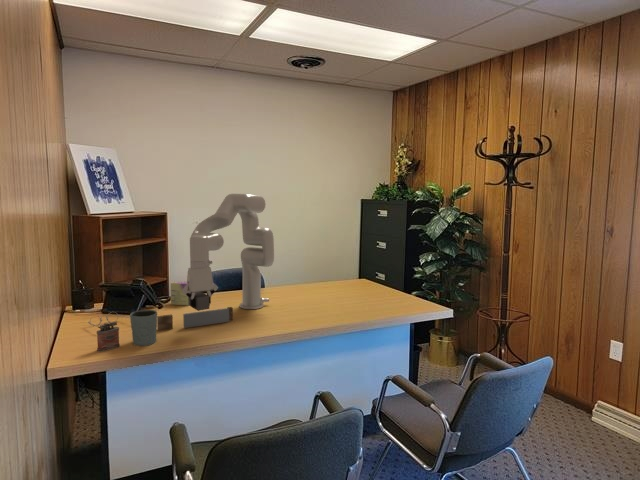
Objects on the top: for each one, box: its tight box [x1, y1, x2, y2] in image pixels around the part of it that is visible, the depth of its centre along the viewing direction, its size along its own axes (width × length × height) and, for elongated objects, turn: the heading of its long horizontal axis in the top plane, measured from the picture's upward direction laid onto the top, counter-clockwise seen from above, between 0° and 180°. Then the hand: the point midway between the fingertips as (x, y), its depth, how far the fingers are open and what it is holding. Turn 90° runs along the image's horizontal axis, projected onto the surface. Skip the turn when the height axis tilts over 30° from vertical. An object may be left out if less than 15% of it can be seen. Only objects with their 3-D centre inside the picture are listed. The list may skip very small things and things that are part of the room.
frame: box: [157, 306, 234, 332], centre depth 194 cm, size 34×2×6 cm, turn 121°
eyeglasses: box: [87, 311, 130, 329], centre depth 187 cm, size 16×19×5 cm
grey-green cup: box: [129, 309, 158, 347], centre depth 170 cm, size 10×10×12 cm
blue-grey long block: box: [182, 308, 230, 329], centre depth 194 cm, size 20×3×6 cm, turn 121°
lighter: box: [96, 321, 121, 352], centre depth 163 cm, size 8×3×10 cm, turn 138°
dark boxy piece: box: [188, 291, 210, 312], centre depth 182 cm, size 5×10×6 cm, turn 39°
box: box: [170, 280, 190, 307], centre depth 227 cm, size 10×6×12 cm, turn 84°
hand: (200, 306), depth 181 cm, fingers closed on dark boxy piece, 5 cm apart
